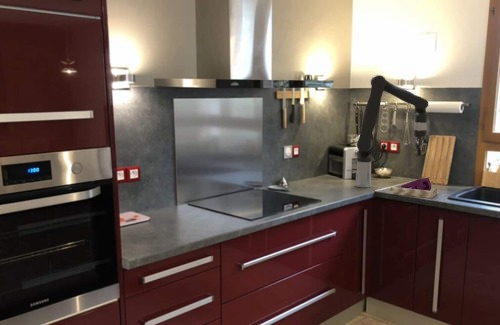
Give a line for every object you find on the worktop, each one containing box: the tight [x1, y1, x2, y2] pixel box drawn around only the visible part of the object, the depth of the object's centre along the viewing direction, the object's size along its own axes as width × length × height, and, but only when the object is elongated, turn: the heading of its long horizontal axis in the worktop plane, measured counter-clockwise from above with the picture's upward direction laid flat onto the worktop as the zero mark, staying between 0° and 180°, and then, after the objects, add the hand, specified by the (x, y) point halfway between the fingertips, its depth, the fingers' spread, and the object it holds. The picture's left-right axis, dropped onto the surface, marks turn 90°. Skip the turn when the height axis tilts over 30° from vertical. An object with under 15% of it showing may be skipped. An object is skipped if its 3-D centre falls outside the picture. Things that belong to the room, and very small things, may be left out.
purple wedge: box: [400, 177, 432, 191], centre depth 289 cm, size 9×8×18 cm
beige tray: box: [390, 186, 438, 199], centre depth 281 cm, size 25×14×4 cm, turn 59°
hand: (419, 155), depth 296 cm, fingers closed
